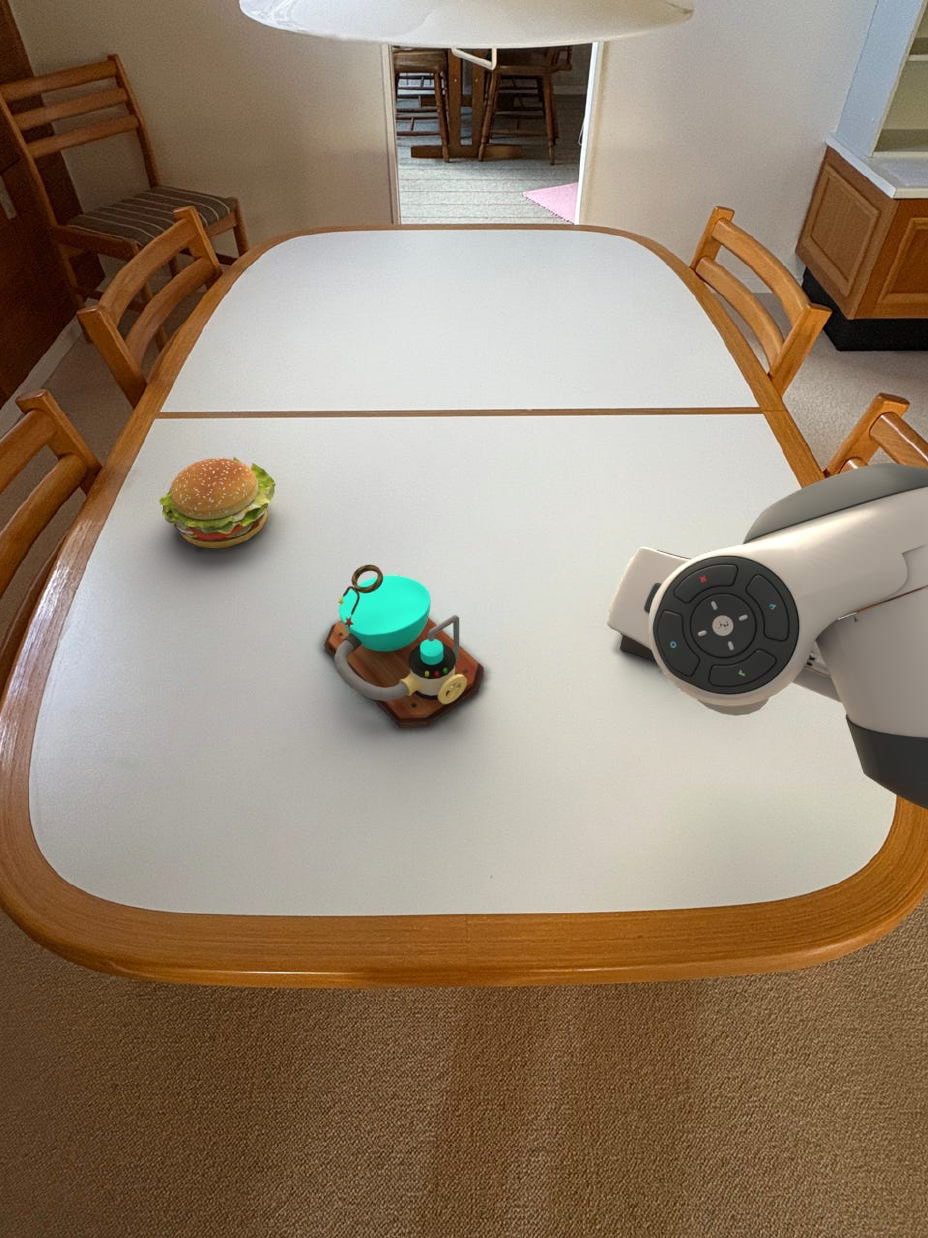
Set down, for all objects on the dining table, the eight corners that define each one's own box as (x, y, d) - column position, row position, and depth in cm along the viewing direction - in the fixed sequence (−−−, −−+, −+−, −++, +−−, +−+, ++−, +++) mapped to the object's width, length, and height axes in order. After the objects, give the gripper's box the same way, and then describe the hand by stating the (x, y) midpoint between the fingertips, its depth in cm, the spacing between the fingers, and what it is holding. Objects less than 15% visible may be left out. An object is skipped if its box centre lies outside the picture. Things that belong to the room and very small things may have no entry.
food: (219, 573, 98) (204, 524, 92) (151, 527, 104) (132, 478, 98) (301, 517, 105) (291, 468, 99) (232, 477, 111) (219, 429, 105)
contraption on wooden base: (392, 752, 80) (380, 657, 69) (297, 649, 89) (273, 551, 78) (495, 681, 86) (499, 584, 75) (396, 592, 95) (387, 494, 84)
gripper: (919, 650, 49) (890, 650, 62) (619, 537, 57) (648, 557, 69) (876, 741, 50) (855, 722, 63) (585, 617, 57) (620, 623, 70)
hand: (745, 635), depth 66 cm, fingers closed on can, 7 cm apart
